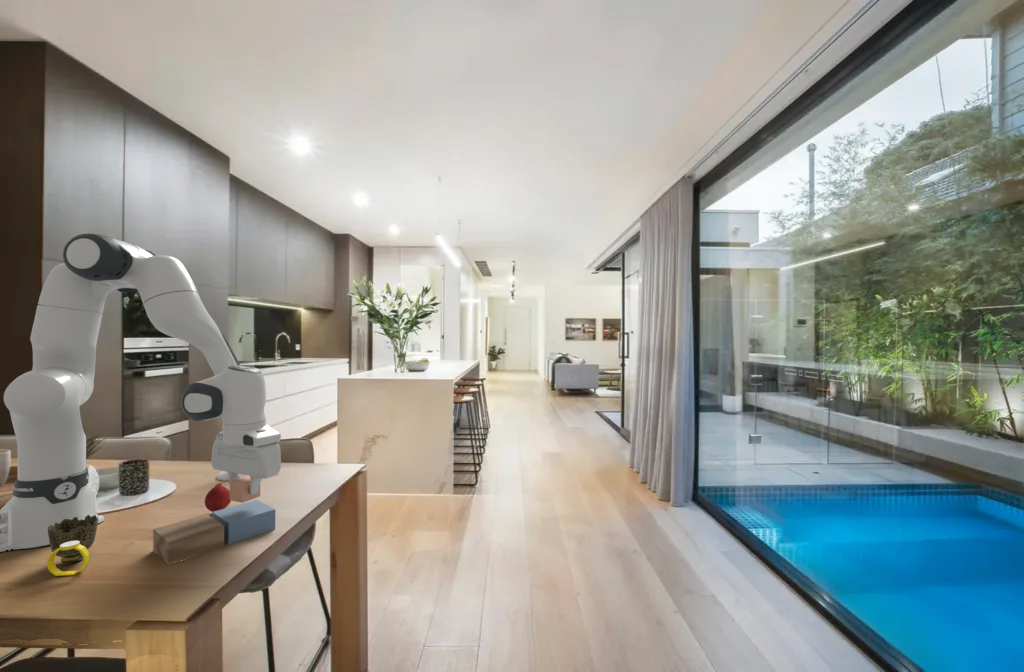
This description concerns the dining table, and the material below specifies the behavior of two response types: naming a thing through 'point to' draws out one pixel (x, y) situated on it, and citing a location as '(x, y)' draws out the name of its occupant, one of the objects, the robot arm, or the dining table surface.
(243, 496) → the terracotta cube
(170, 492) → the dining table surface
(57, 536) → the cup
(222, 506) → the onion
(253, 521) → the slate-blue block
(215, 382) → the robot arm
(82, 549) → the watch
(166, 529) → the walnut block
